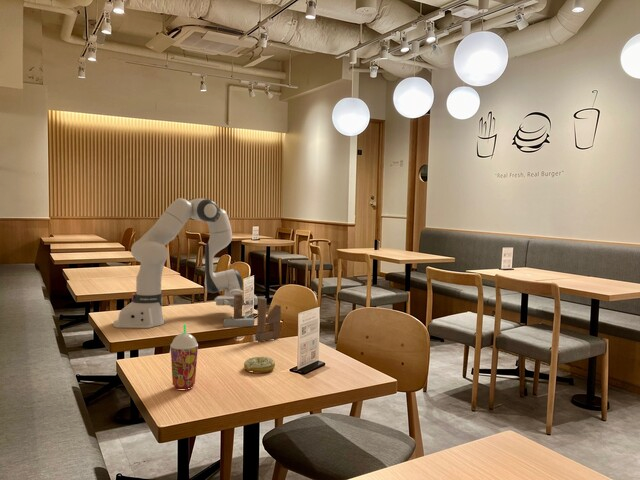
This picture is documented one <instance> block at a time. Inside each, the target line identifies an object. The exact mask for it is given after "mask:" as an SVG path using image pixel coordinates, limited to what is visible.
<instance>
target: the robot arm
mask: <svg viewBox="0 0 640 480" xmlns="http://www.w3.org/2000/svg"><path fill="white" fill-rule="evenodd" d="M189 220H192V221H199V222H205V223H206V224H207V226H208V231H209V239H208V241H207V243H206V244H205V247H204V269H205V270H204V273H205V274H204V275H205V277H204V286H205V289H206V291H207V292H209V293H211V294H215V293H219V292H221V291H224V295H218V296H216V297H215V298H214V299H213V300H214V302H215V305H216V306H230V308H234V294H242V295H243V291H244V290H242V289H243V279H242V276H241V274H240V272H239V271H238V270H237V269H235V268H231V269H226V270H223V271H218V272H214V258H215V256H216V255H217V254H218V253H219V252H221V250H223V249H225V248H227V247H228V246H229V244H231V242H232V239H233V230H232V226H231V222H230V218H229V215H228V213H227V211H226V210H225V209H223V208H221V207H219V206H218V204H217V203H216V202H215V201H214V200H212V199H207V198H202V197H200V198H199V197H198V198H191V199H185V198H182V197H179V198H176V199H175V200H174V201H173V202H172V203H171V204H169V205H168V207H167V208H166V209H165V210H164V211H163V213H162V214H161V216H160V217H159V218H158V219H157V220H156V222H155V223H154V224H153V225H152V227H150V228H149V230H147V232H145V233H144V234H143V235H142V236H141V238H139V239H138V240H137V241H135V242H134V243H133V244H132V245H131V247H130V253H131V255H132V257H133V259H135V260H136V261H137V262H139V263H140V266H139V270H138V274H137V275H136V279H135V280H136V281H135V282H136V288H135V290H136V292H135V293H134V292H132V294H131V295H130V296H131V302H130V303H129V304H126V306H124V307H123V308H122V309H121V310H120V311H119V313H118V318H117V319H116V320H114V321H113V323H112V326H113V327H114V328H120V329H121V328H123V329H125V328H127V329H133V328H134V329H150V328H153V327H157V326H162V325H164V324H165V319H164V315H163V310H162V309H163V308H162V304H163V293H162V275H163V273H164V272H163V270H164V267H165V264H166V262H167V260H168V257H169V250H168V249H167V246H166V245H168V244H169V243H170V242H172V241H173V240H175V238H176V237H177V236H178V234H179V233H180V231H182V229H183V227H185V225H186V224H187V222H188V221H189ZM243 299H244V298H243ZM243 305H244V306H252V305H253V300H252V301H251V300H248V301H246V304H245V303H244V300H243V303H242V307H244V306H243ZM254 305H255V306H256V305H257V306H258V296H257V295H256V294H254Z"/></svg>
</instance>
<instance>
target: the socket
mask: <svg viewBox="0 0 640 480" xmlns="http://www.w3.org/2000/svg"><path fill="white" fill-rule="evenodd" d="M223 326H224V328H233V327H255V318H254V317H251V318H249V317H247V316H246V315H242V319H234V317H233V316H230V315H229V317H228V318H224V319H223Z"/></svg>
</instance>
